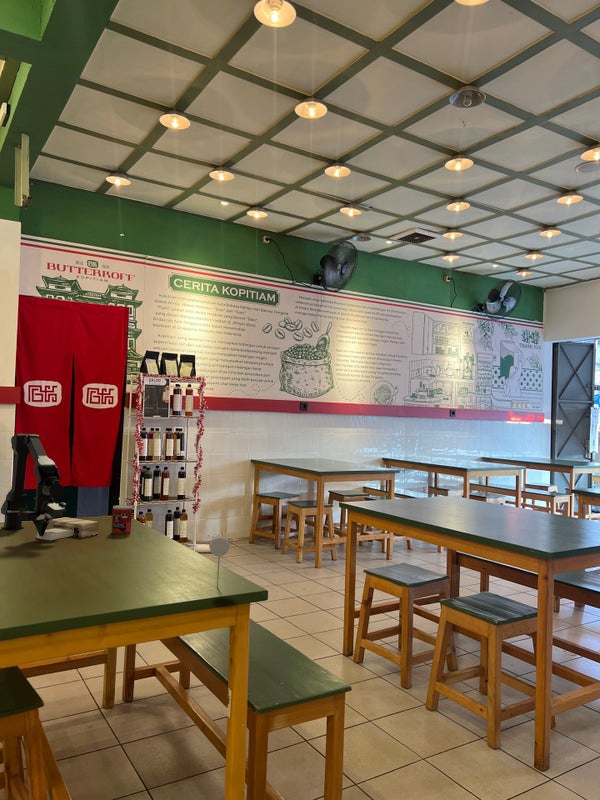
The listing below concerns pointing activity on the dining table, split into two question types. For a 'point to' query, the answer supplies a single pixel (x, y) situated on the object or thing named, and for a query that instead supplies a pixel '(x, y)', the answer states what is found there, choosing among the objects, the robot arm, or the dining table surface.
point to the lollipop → (219, 549)
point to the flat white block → (56, 533)
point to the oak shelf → (76, 526)
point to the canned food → (121, 519)
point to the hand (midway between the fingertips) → (41, 536)
